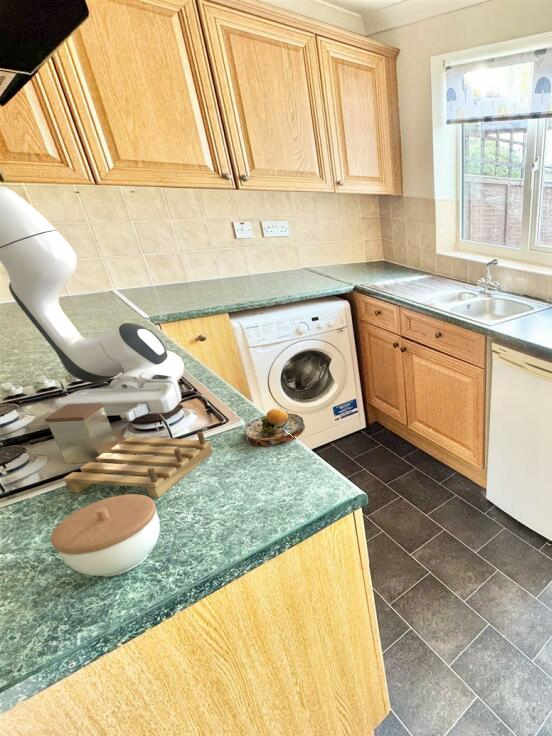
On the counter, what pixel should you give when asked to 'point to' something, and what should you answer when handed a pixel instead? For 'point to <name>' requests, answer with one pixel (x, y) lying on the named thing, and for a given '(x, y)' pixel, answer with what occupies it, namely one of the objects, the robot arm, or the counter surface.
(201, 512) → the counter surface
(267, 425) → the open sandwich
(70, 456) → the tea tin
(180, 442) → the rack
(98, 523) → the trinket box
